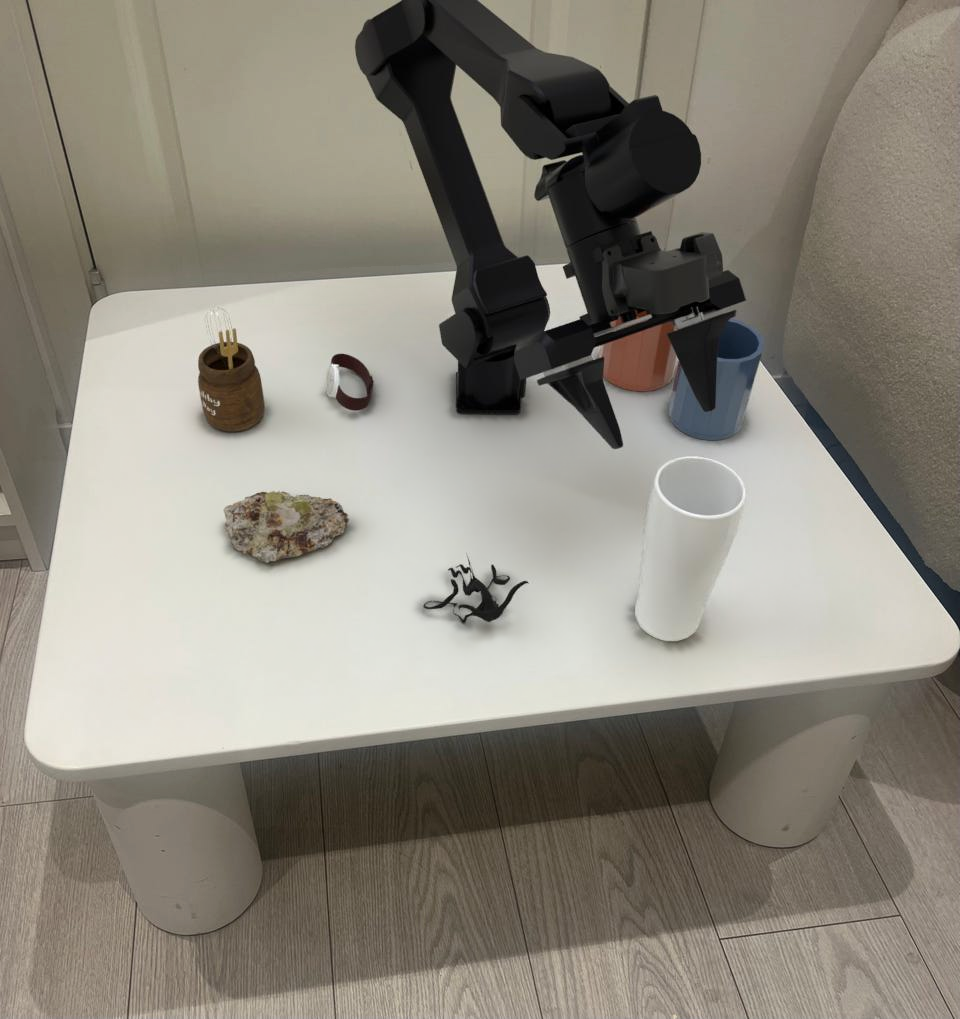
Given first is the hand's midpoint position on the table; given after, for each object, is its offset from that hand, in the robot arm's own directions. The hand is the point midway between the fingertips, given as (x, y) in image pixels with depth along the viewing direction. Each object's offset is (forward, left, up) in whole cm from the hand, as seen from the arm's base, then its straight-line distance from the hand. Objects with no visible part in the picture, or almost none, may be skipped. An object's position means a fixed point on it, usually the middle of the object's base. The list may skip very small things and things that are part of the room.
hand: (665, 429), depth 79 cm
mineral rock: (-31, +2, -14) cm, 34 cm away
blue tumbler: (+9, +19, -14) cm, 25 cm away
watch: (-27, +22, -14) cm, 37 cm away
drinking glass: (+1, -8, -14) cm, 16 cm away
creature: (-15, -6, -14) cm, 21 cm away
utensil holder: (-38, +18, -14) cm, 44 cm away
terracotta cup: (+3, +27, -14) cm, 30 cm away
